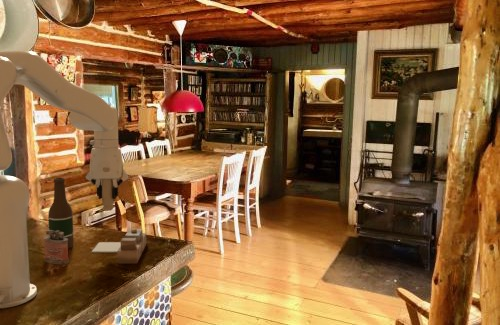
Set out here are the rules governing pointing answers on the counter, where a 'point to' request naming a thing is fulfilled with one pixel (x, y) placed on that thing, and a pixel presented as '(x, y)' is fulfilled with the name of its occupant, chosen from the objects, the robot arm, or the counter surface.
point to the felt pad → (107, 247)
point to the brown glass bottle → (61, 212)
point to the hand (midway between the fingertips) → (107, 197)
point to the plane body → (131, 246)
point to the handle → (107, 193)
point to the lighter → (56, 247)
